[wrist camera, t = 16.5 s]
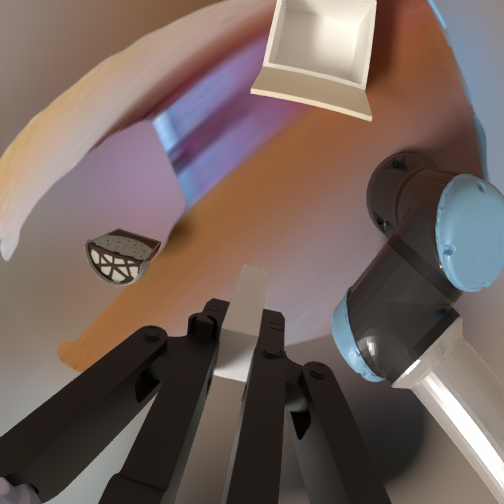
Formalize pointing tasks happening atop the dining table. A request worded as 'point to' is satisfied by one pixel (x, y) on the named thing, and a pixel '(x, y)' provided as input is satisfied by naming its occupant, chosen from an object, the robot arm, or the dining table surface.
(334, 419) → the robot arm
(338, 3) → the carton
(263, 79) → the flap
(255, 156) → the dining table surface
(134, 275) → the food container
